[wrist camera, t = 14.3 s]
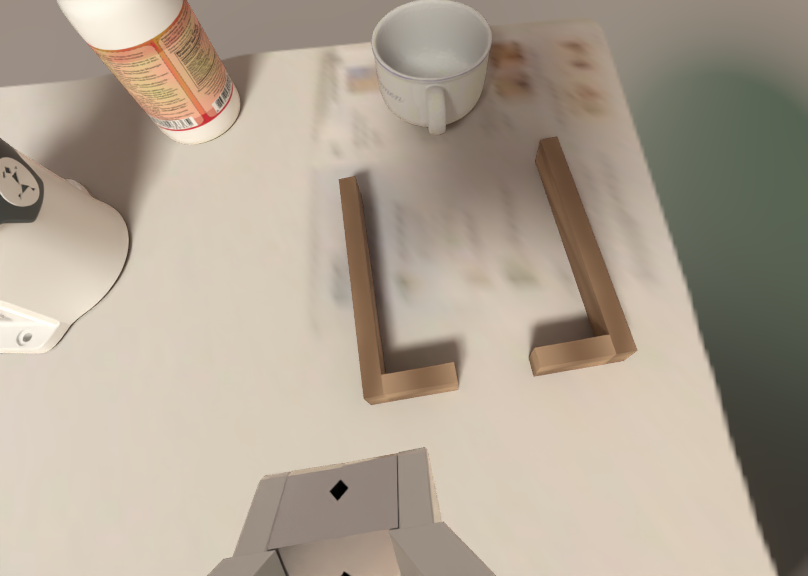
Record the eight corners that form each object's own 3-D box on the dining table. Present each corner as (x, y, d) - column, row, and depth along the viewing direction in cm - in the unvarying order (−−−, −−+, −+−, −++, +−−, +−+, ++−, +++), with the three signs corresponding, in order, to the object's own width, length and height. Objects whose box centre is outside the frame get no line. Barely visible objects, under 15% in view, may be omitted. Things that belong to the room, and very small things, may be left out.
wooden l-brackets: (370, 404, 36) (363, 398, 33) (346, 198, 44) (338, 179, 41) (623, 360, 35) (637, 350, 32) (550, 158, 43) (557, 136, 40)
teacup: (393, 64, 51) (382, -7, 43) (491, 66, 49) (497, -7, 41) (370, 165, 45) (353, 104, 38) (479, 172, 44) (483, 109, 36)
